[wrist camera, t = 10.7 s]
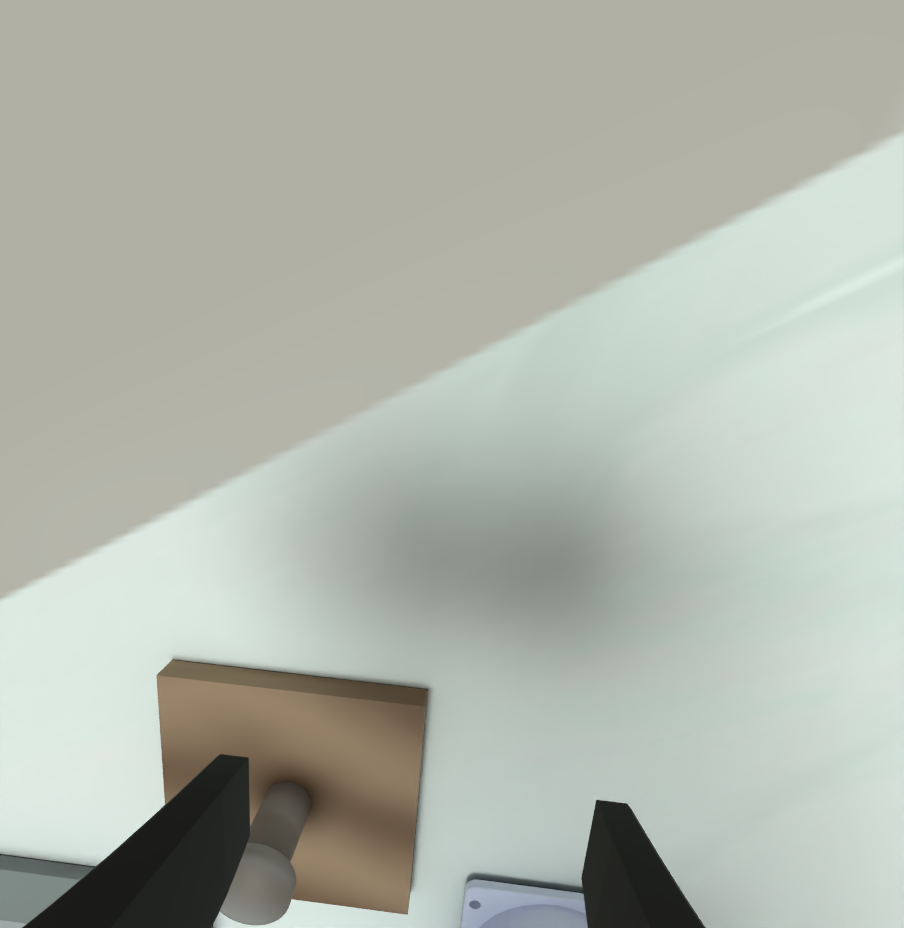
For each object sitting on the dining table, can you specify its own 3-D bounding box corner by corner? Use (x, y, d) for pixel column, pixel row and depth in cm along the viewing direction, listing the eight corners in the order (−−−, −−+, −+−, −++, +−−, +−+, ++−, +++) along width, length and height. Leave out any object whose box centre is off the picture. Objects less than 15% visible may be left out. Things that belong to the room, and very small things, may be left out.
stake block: (410, 890, 23) (392, 1023, 18) (183, 860, 23) (111, 982, 18) (427, 689, 20) (412, 786, 16) (172, 659, 20) (85, 745, 16)
